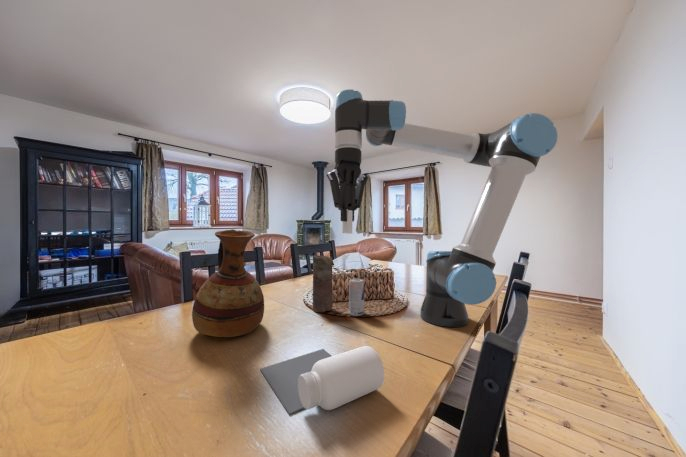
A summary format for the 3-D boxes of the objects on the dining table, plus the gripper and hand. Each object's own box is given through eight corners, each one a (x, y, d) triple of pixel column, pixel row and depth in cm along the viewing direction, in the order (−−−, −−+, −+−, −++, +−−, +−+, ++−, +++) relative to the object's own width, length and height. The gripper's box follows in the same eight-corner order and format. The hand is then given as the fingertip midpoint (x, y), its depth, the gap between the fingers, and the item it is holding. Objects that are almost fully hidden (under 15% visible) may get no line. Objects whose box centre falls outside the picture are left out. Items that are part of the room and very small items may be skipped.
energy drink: (365, 312, 94) (365, 279, 94) (361, 317, 89) (362, 282, 89) (351, 310, 96) (351, 277, 96) (346, 315, 91) (347, 280, 91)
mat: (323, 349, 66) (323, 348, 66) (362, 382, 53) (362, 381, 53) (260, 369, 57) (260, 368, 57) (289, 415, 44) (289, 413, 44)
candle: (312, 306, 100) (313, 254, 99) (332, 306, 100) (332, 254, 100) (312, 313, 92) (312, 257, 91) (332, 313, 93) (333, 257, 92)
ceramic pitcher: (202, 353, 64) (201, 231, 63) (185, 327, 79) (184, 228, 78) (275, 331, 77) (276, 230, 76) (249, 312, 92) (249, 228, 91)
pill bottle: (360, 377, 56) (294, 402, 47) (360, 339, 56) (294, 357, 47) (385, 397, 49) (313, 430, 41) (385, 354, 49) (314, 379, 41)
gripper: (358, 155, 80) (357, 232, 81) (321, 148, 73) (320, 233, 74) (374, 150, 74) (373, 233, 75) (336, 142, 67) (335, 234, 68)
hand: (347, 233), depth 74 cm, fingers closed
